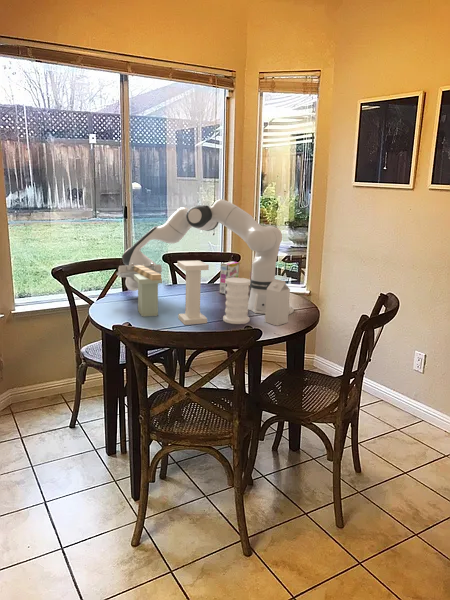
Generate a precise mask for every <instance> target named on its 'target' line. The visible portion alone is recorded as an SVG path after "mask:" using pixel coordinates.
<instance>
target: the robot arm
mask: <svg viewBox="0 0 450 600" xmlns="http://www.w3.org/2000/svg"><path fill="white" fill-rule="evenodd" d="M219 224H221V225H222V226H224V227H225V228H227V229H228V230H229V231H231V232H233V233H234V234H236V235H237V236H238V237H239V238H241V240H243V241H244V243H245V244H247V247H248V248H249V249H250V250H251V251H252V252H255V255H254V258H253V260H252V263H251V276H250V277H251V278H250V280H251V281H250V284H249V293H250V294H249V299H248V303H249V305H248V311H251V312H253V313H255V314H262V315H263V314H264V315H265V312H266V294H267V288H268V286H269V285H270V283H271V282H272V279H276V267H277V266H276V265H277V260H278V256H279V255H278V254H279V250H280V246H281V243H282V240H283V233H282V232H281V231H282V230H280V229H279V228H278V227H276V226H273V225H268V226H267V225H265V226H264V225H261V224H260V223H259V222H258V221H257V220H256V219H254V217H253V216H252V214H250V213H248V212H247V211H246V210H244V209H242V208H241V207H239V206H238V205H236V204H235V203H232V202H231V201H228V200H226V199H223V198H220V199H217V200H215V202H213V204H212V205H211V206H209V205H206V204H205V205H204V204H202V205H199V204H198V205H192V206H191V207H189V208H188V207H185V206H182V207H179V208H178V209H177V210H175V211H174V212H173V213H172V215H171V216H170V217H169V218H168V219H167V220H166V222H165V223H163V224H161V225H155V226H153V227H152V228H150V229H149V230H148V231H147V232H146V233H145V234H144V235H143V236H142V237H141V238H139V239H138V240H137V241H136V242H135V243H134V244H133V245H132V246H130V247H129V248H127V249H126V250H125V251H124V253H122V255H121V259H122V263H123V265H119V266H118V267H117V268H118V271H117V272H116V276H118V277H120V278H125V286H126V288H127V289H128V290H129V291H132V292H135V291H138V282H137V281H136V280H135V279H134V274H139V273H137V272H135V271H134V266H136V265H143V266H145V267H147V268H149V269H151V270H153V271H155V272H157V273H159V274H161V275H162V272H163V269H162V268H163V267H162V265H161V264H157V263H156V262H155V261H153V260H152V259H151V258H150V257H148V256H147V255H146V254H144V253H143V252H142V251H141V249H143V248H144V247H145V246H146V245H147V244H148V243H149V242H150V241H152V240H153V241H160V242H163V243H165V244H177V243H179V242H180V241H181V240H183V238H184V236H185V235H186V234H187V233H188V232H189V230H190V229H191V228H194V229H198V230H201V231H206V232H210V231H213V230H216V228H217V227H218V226H219ZM290 303H291V302H289V312H288V316H289V315H291V314H293V313H294V311H295V308H294V306H291V305H290Z"/></svg>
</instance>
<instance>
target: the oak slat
mask: <svg viewBox="0 0 450 600" xmlns="http://www.w3.org/2000/svg"><path fill="white" fill-rule="evenodd" d="M134 271H135V272H137V273H139V274H141V275H143V276H145V277H146V278H148V279H150V280H152V281H155V280H161V278H162V273H161V274H159V273H157V272H155V271H153V270H151V269H149V268H147V267H145V266H143V265H136V266H134Z"/></svg>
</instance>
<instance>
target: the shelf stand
mask: <svg viewBox="0 0 450 600" xmlns="http://www.w3.org/2000/svg"><path fill="white" fill-rule="evenodd" d="M177 267H179V268H180V269H182V270H183V271H185V313H178V315H177V317H178V320H179V321H180V322H181V323H182V324H183V325H184V326H189V325H199V324H201V325H202V324H208V318H207V317H206V316H205V315H204V314H203V313H201V285H202V284H201V280H202V271H209V270H210V269H209V267H210V266H209V264H207V263H205V262H204V261H201V260H200V259H199V260H177Z"/></svg>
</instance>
